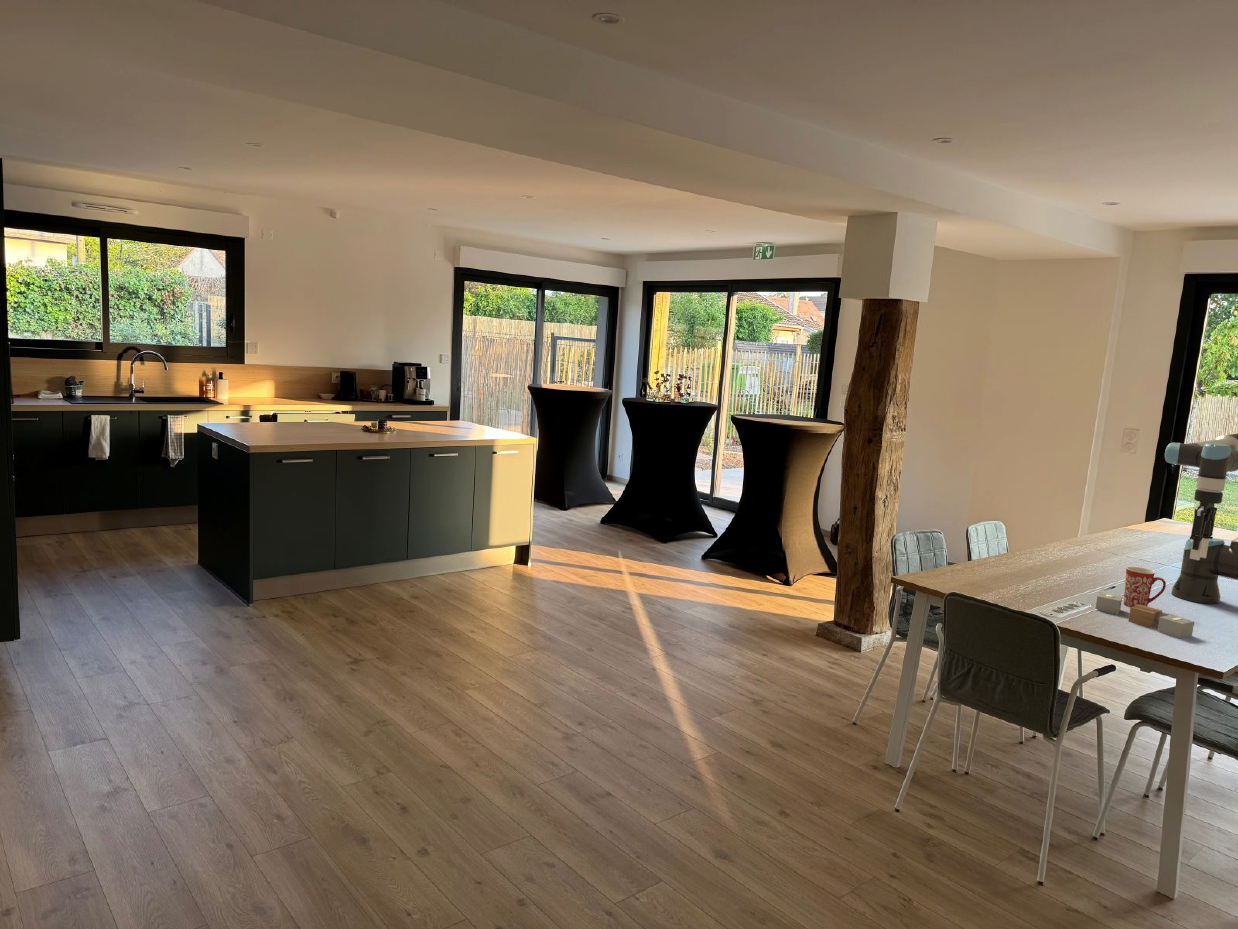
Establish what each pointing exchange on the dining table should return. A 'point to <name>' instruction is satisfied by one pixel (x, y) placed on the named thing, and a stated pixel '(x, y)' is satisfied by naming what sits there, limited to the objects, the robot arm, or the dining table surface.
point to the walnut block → (1145, 615)
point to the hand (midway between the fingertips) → (1197, 558)
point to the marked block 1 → (1108, 603)
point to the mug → (1140, 586)
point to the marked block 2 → (1175, 626)
